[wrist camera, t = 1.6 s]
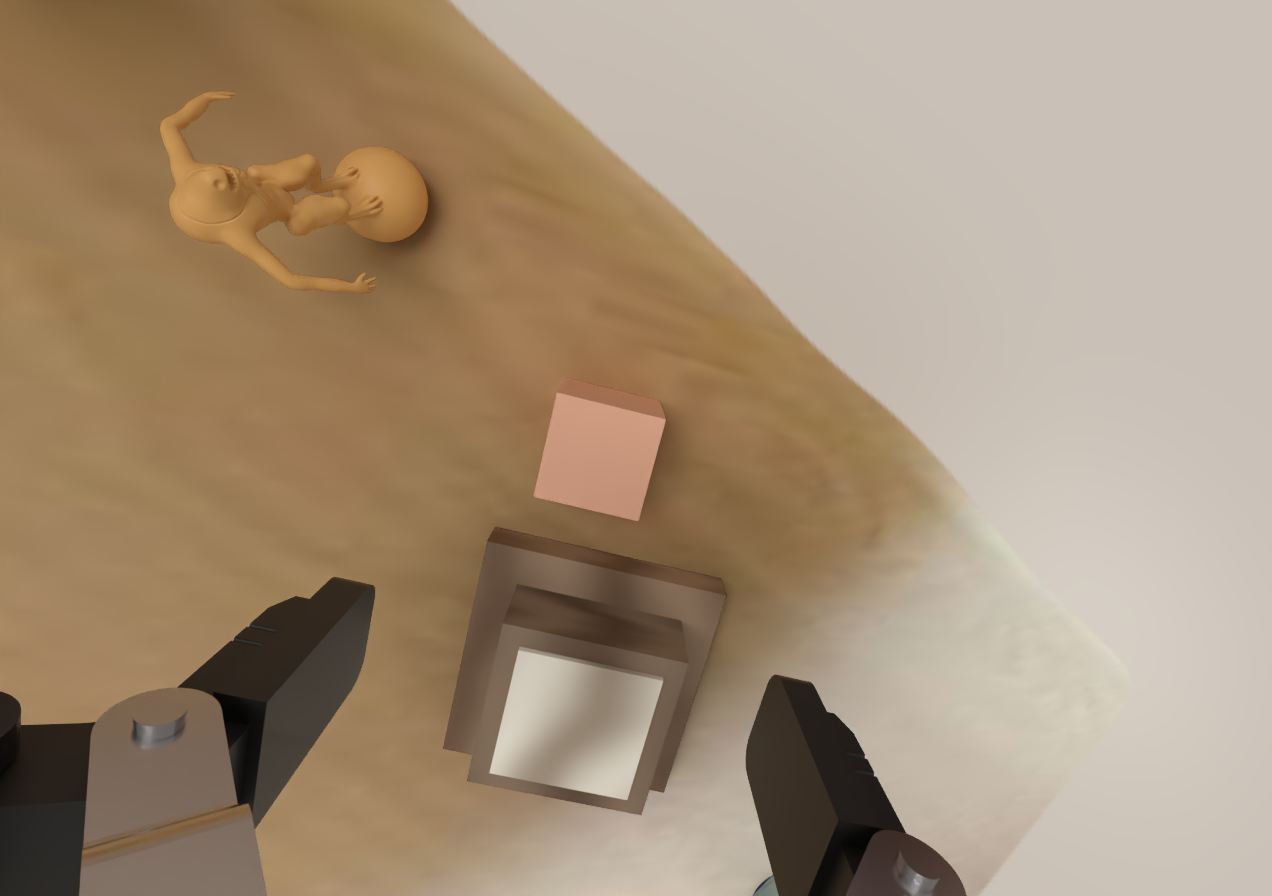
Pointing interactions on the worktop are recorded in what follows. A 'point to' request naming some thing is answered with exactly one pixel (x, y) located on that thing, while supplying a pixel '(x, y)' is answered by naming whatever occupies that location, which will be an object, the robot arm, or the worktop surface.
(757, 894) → the spray paint can
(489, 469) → the worktop surface
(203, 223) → the figurine
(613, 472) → the terracotta cube
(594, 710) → the walnut plinth
